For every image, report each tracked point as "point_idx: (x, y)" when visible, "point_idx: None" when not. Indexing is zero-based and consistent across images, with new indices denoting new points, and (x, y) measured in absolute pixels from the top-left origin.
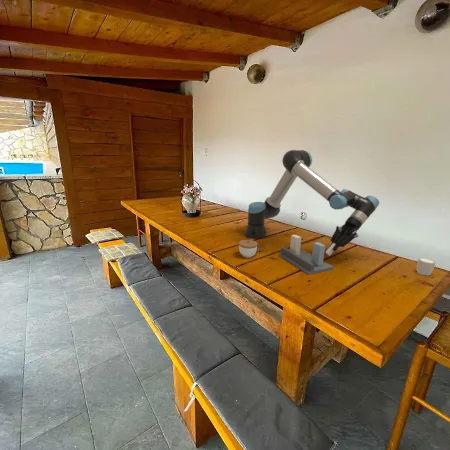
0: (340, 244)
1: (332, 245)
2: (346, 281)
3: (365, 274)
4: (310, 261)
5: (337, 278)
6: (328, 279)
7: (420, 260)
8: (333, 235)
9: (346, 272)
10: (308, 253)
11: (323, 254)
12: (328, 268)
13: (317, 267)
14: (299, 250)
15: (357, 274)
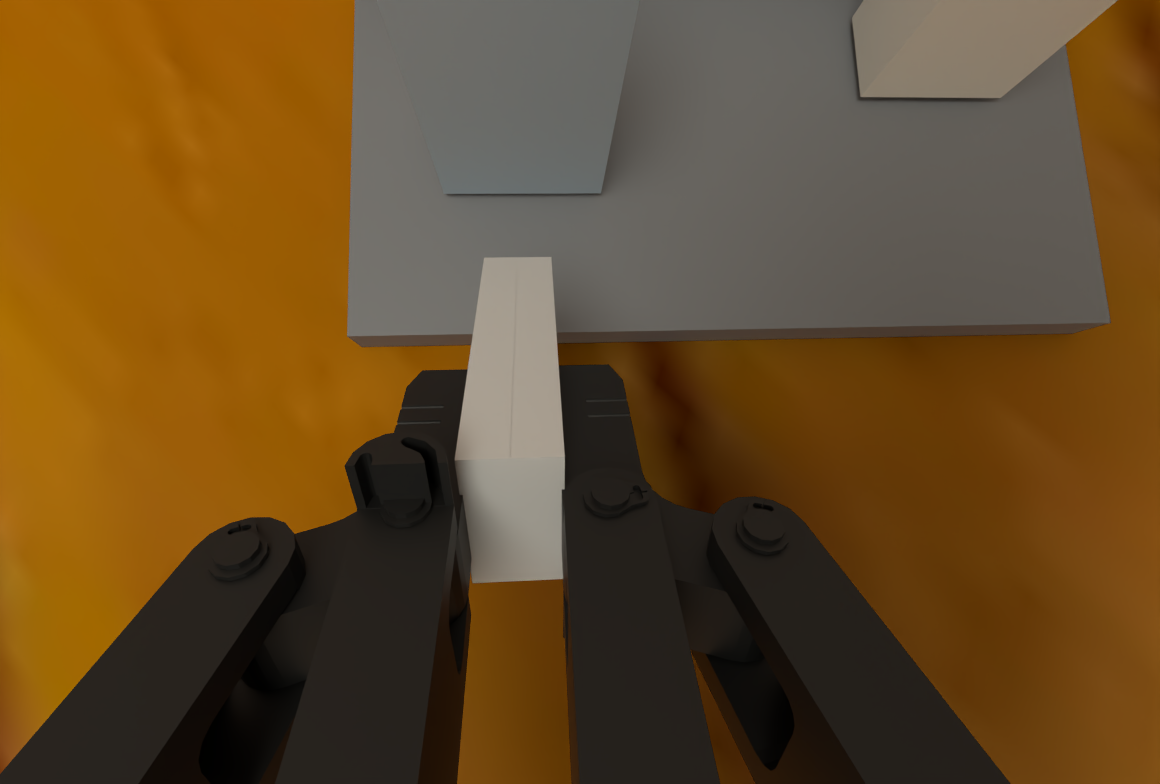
0: (241, 524)
1: (516, 391)
2: (8, 248)
3: (16, 715)
4: (639, 135)
5: (128, 199)
6: (163, 70)
7: None
8: (953, 767)
9: (204, 467)
10: (920, 316)
11: (398, 47)
12: (352, 236)
13: None
14: (919, 13)
15: (78, 583)
